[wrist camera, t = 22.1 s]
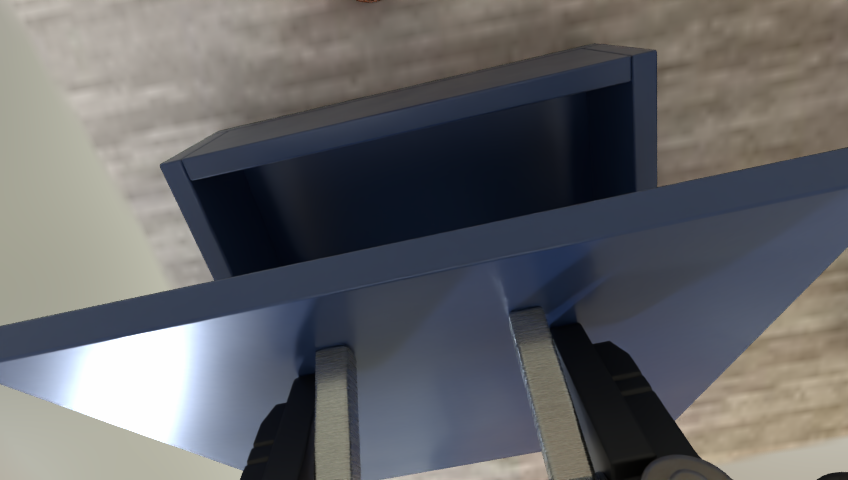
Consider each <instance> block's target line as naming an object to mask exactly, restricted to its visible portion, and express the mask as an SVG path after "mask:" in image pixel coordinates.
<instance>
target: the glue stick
mask: <svg viewBox="0 0 848 480" xmlns="http://www.w3.org/2000/svg"><path fill="white" fill-rule="evenodd" d="M356 1H360V2H376V1H380V0H356Z"/></svg>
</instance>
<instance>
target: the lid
mask: <svg viewBox="0 0 848 480" xmlns="http://www.w3.org/2000/svg"><path fill="white" fill-rule="evenodd" d="M847 247H848V147H847V148H842V149H837V150H832V151H828V152H823V153H818V154H813V155H809V156H804V157H799V158H794V159H790V160H785V161H780V162H775V163H771V164H766V165H761V166H757V167H752V168H747V169H742V170H738V171H733V172H728V173H723V174H719V175H714V176H709V177H704V178H700V179H695V180H690V181H685V182H681V183H676V184H671V185H666V186H662V187H657V188H652V189H647V190H643V191H638V192H633V193H628V194H624V195H619V196H614V197H610V198H605V199H600V200H595V201H591V202H586V203H581V204H576V205H572V206H567V207H562V208H557V209H553V210H548V211H543V212H538V213H534V214H529V215H524V216H519V217H515V218H510V219H505V220H500V221H496V222H491V223H486V224H481V225H477V226H472V227H467V228H463V229H458V230H453V231H448V232H444V233H439V234H434V235H429V236H425V237H420V238H415V239H410V240H406V241H401V242H396V243H391V244H387V245H382V246H377V247H372V248H368V249H363V250H358V251H353V252H349V253H344V254H339V255H335V256H330V257H325V258H320V259H316V260H311V261H306V262H301V263H297V264H292V265H287V266H282V267H278V268H273V269H268V270H263V271H259V272H254V273H249V274H244V275H240V276H235V277H230V278H225V279H221V280H216V281H211V282H206V283H202V284H197V285H192V286H188V287H183V288H178V289H173V290H169V291H164V292H159V293H155V294H150V295H145V296H140V297H135V298H131V299H126V300H121V301H116V302H112V303H107V304H102V305H97V306H93V307H88V308H83V309H79V310H74V311H69V312H64V313H59V314H55V315H50V316H46V317H41V318H36V319H31V320H27V321H22V322H18V323H12V324H7V325H3V326H0V384H1V385H4V386H7V387H9V388H12V389H15V390H18V391H21V392H24V393H26V394H29V395H32V396H35V397H38V398H40V399H43V400H46V401H49V402H52V403H54V404H57V405H60V406H63V407H66V408H68V409H71V410H74V411H77V412H80V413H82V414H86V415H88V416H91V417H94V418H97V419H99V420H102V421H105V422H108V423H111V424H113V425H116V426H119V427H122V428H125V429H128V430H130V431H133V432H136V433H139V434H141V435H144V436H147V437H150V438H153V439H155V440H158V441H161V442H164V443H167V444H169V445H173V446H175V447H178V448H181V449H184V450H187V451H190V452H192V453H195V454H198V455H201V456H204V457H206V458H209V459H212V460H214V461H217V462H220V463H223V464H226V465H228V466H231V467H234V468H237V469H240V470H244V468H245V466H247V460H248V457H249V454H250V451H251V449H252V448H253V447H254V446H253V443H254V441H255V438H256V435H257V433H258V430H259V427H260V425H261V423H262V422H263V420H264V419H265V418H266V417H267V415H268V414H269V413H270V411H271V410H272V409H273V408H274V406H275V405H276V404H282V403H286V402H287V399H288V396H289V393H290V390H291V387H292V384H293V381H294V380H295V379H296V378H298V377H303V376H308V375H313V374H315V439H314V480H382V479H387V478H393V477H399V476H404V475H410V474H416V473H422V472H427V471H433V470H439V469H444V468H450V467H456V466H461V465H467V464H473V463H478V462H484V461H490V460H495V459H501V458H507V457H512V456H518V455H524V454H529V453H535V452H541V451H542V455H543V459H544V463H545V467H546V470H547V474H548V478H549V480H609V478H608V477H607V475H606V474H605V473H604V472H601V471H597V472H595V471H594V467H593V464H592V461H591V458H590V455H589V452H588V448H587V445H586V442H585V439H584V436H583V433H582V430H581V426H580V423H579V420H578V417H577V414H576V411H575V408H574V404H573V401H572V398H571V395H570V392H569V389H568V385H567V382H566V379H565V376H564V373H563V370H562V367H561V363H560V360H559V357H558V354H557V351H556V348H555V344H554V341H553V338H552V335H551V332H550V328H555V327H560V326H565V325H570V324H575V323H580V324H581V325H582V327H583V328H584V330H585V332H586V334H587V335H588V337H589V339H590V340H591V342H592V344H595V343H601V342H606V341H611V342H612V343H614V344H615V345H616V346H618V347H619V348H621V349H622V350H624V351H625V352H627V353H628V354H630V356H631V357H632V359H633V360H634V362H635V363H636V365H637V366H638V368H639V369H640V371H641V373H642V376H644V377H645V378H646V380H647V381H648V383H649V384H650V386H651V387H652V390H653V391H655V393H656V394H657V396H658V397H659V399H660V400H661V402H662V403H663V405H664V406H665V408H666V409H667V411H668V412H669V414H670V415H671V417H672V418H673V420H674V421H675V420H676V419H677V418H678V417H679V416H680V415H681V414H682V413H683V412H684V411H685V410H686V409H687V408H688V407H689V406H690V405H691V404H692V403H693V402H694V401H695V400H696V399H697V398H698V397H699V396H700V395H701V394H702V393H703V392H704V391H705V390H706V389H707V388H708V387H709V386H710V385H711V384H712V383H713V382H714V381H715V380H716V379H717V378H718V377H719V376H720V375H721V374H722V373H723V372H724V371H725V370H726V369H727V368H728V367H729V366H730V365H731V364H732V363H733V362H734V361H735V360H736V359H737V358H738V357H739V356H740V355H741V354H742V353H743V352H744V351H745V350H746V349H747V348H748V347H749V346H750V345H751V344H752V343H753V342H754V341H755V340H756V339H757V338H758V337H759V336H760V335H761V334H762V333H763V332H764V331H765V330H766V329H767V328H768V327H769V326H770V325H771V324H772V323H773V322H774V321H775V320H776V319H777V318H778V317H779V316H780V315H781V314H782V313H783V312H784V311H785V310H786V309H787V308H788V307H789V306H790V305H791V304H792V303H793V301H794V300H795V299H796V298H797V297H798V296H799V295H800V294H801V293H802V292H803V291H804V290H805V289H806V288H807V287H808V286H809V285H810V284H811V283H812V282H813V281H814V280H815V279H816V278H817V277H818V276H819V275H820V274H821V273H822V272H823V271H824V270H825V269H826V268H827V267H828V266H829V265H830V264H831V263H832V262H833V261H834V260H835V259H836V258H837V257H838V256H839V255H840V254H841V253H842V252H843V251H844V250H845V249H846V248H847Z"/></svg>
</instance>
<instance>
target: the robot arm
mask: <svg viewBox="0 0 848 480" xmlns="http://www.w3.org/2000/svg"><path fill="white" fill-rule="evenodd" d="M550 332H551V335H552V338H553V341H554V344H555V348H556V351H557V354H558V357H559V360H560V363H561V367H562V370H563V373H564V376H565V379H566V382H567V385H568V389H569V392H570V395H571V398H572V401H573V404H574V408H575V411H576V414H577V417H578V420H579V423H580V426H581V430H582V433H583V436H584V439H585V442H586V445H587V448H588V452H589V455H590V458H591V461H592V464H593V467H594V471H595V472H597V471H601V472H604V473H605V474H606V475H607V477H608V478H609V480H732V479H731V478H730V477H729V476H728V475H727V474H726V473H725V472H723V471H722V470H720V469H719V468H718V467H716V466H715V465H713V464H711V463H709V462H707V461H705V460H702V459H701V458H700V457H699V456H698V454H697V453H696V452H695V451H694V449H693V448H692V446H691V445H690V443H689V442H688V440H687V439H686V437H685V436H684V434H683V433H682V431H681V430H680V428H679V427H678V426H677V424H676V423H675V421H674V420H673V418H672V417H671V415H670V414H669V412H668V411H667V409H666V408H665V406H664V405H663V403H662V402H661V400H660V399H659V397H658V396H657V394H656V393H655V391H653V390H652V387H651V386H650V384H649V383H648V381H647V380H646V378H645V377H644V376H642V373H641V371H640V369H639V368H638V366H637V365H636V363H635V362H634V360H633V359H632V357H631V356H630V354H628V353H627V352H625V351H624V350H622V349H621V348H619V347H618V346H616V345H615V344H614V343H612V342H611V341H606V342H601V343H595V344H592V342H591V340H590V339H589V337H588V335H587V334H586V332H585V330H584V328H583V327H582V325H581V324H580V323H575V324H570V325H565V326H560V327H555V328H550ZM314 439H315V374H313V375H308V376H303V377H298V378H296V379H295V380H294V381H293V384H292V387H291V390H290V393H289V396H288V399H287V402H286V403H282V404H276V405H275V406H274V408H273V409H272V410H271V411H270V413H269V414H268V415H267V417H266V418H265V419H264V420H263V422H262V423H261V425H260V427H259V430H258V433H257V435H256V438H255V441H254V443H253V446H254V447H253V448H252V449H251V451H250V454H249V457H248V460H247V466H245V468H244V470H243V473H242V476H241V478H240V480H314ZM817 480H848V472H837V473H830V474H827V475H824V476H822V477H821V478H819V479H817Z"/></svg>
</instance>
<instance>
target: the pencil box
mask: <svg viewBox="0 0 848 480" xmlns="http://www.w3.org/2000/svg"><path fill="white" fill-rule="evenodd" d="M160 168H161V170H162V172H163V174H164V176H165V178H166V180H167V183H168V185H169V187H170V189H171V191H172V193H173V195H174V197H175V199H176V201H177V203H178V205H179V208H180V210H181V212H182V214H183V216H184V218H185V220H186V222H187V224H188V226H189V228H190V231H191V233H192V235H193V237H194V239H195V241H196V243H197V245H198V247H199V249H200V251H201V253H202V256H203V258H204V260H205V262H206V264H207V266H208V268H209V270H210V272H211V274H212V276H213V278H214V281H216V280H221V279H225V278H230V277H235V276H240V275H244V274H249V273H254V272H259V271H263V270H268V269H273V268H278V267H282V266H287V265H292V264H297V263H301V262H306V261H311V260H316V259H320V258H325V257H330V256H335V255H339V254H344V253H349V252H353V251H358V250H363V249H368V248H372V247H377V246H382V245H387V244H391V243H396V242H401V241H406V240H410V239H415V238H420V237H425V236H429V235H434V234H439V233H444V232H448V231H453V230H458V229H463V228H467V227H472V226H477V225H481V224H486V223H491V222H496V221H500V220H505V219H510V218H515V217H519V216H524V215H529V214H534V213H538V212H543V211H548V210H553V209H557V208H562V207H567V206H572V205H576V204H581V203H586V202H591V201H595V200H600V199H605V198H610V197H614V196H619V195H624V194H628V193H633V192H638V191H643V190H647V189H652V188H657V51H656V50H651V49H642V48H633V47H624V46H615V45H606V44H596V43H594V44H590V45H585V46H581V47H577V48H572V49H568V50H564V51H560V52H555V53H551V54H547V55H542V56H538V57H534V58H530V59H525V60H521V61H517V62H512V63H508V64H504V65H500V66H495V67H491V68H487V69H482V70H478V71H474V72H470V73H465V74H461V75H457V76H452V77H448V78H444V79H440V80H435V81H431V82H427V83H423V84H418V85H414V86H410V87H405V88H401V89H397V90H393V91H388V92H384V93H380V94H375V95H371V96H367V97H363V98H358V99H354V100H350V101H345V102H341V103H337V104H333V105H328V106H324V107H320V108H315V109H311V110H307V111H303V112H298V113H294V114H290V115H285V116H281V117H277V118H273V119H268V120H264V121H260V122H255V123H251V124H247V125H243V126H238V127H234V128H230V129H226V130H221V131H218V132H216V133H214V134H213V135H211V136H209V137H207V138H205V139H204V140H202V141H200V142H198V143H197V144H195V145H193V146H191V147H190V148H188V149H186V150H184V151H183V152H181V153H179V154H177V155H175V156H174V157H172V158H170V159H168V160H167V161H165V162H163V163H161V164H160Z"/></svg>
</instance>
